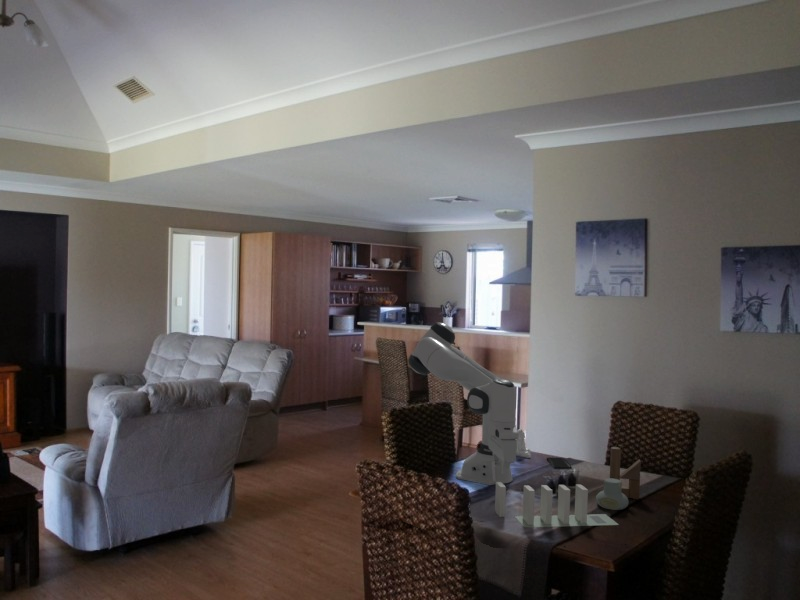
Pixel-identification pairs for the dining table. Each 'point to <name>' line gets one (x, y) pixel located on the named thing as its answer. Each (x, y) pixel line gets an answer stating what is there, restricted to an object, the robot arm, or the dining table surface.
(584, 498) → the domino
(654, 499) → the dining table surface
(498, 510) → the domino
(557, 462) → the phone
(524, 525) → the domino board
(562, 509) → the domino
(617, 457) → the wooden block
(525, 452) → the sitting furry creature
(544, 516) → the domino
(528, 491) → the domino
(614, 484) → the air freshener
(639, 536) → the dining table surface
